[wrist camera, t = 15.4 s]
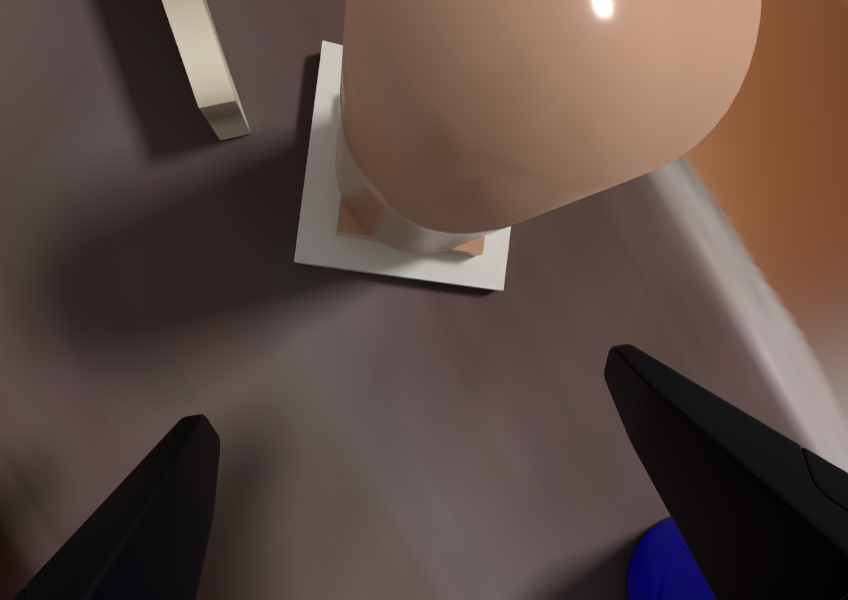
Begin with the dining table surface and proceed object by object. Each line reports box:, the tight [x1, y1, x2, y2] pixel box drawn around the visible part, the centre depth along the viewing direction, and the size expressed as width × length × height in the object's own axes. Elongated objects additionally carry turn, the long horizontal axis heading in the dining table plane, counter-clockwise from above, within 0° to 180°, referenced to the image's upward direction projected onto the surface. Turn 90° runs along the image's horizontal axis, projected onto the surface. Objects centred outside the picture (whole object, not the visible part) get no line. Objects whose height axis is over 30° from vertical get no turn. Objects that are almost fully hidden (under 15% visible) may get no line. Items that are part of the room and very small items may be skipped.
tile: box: [294, 41, 511, 291], centre depth 19 cm, size 9×9×1 cm
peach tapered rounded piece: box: [335, 0, 761, 257], centre depth 12 cm, size 7×7×12 cm
